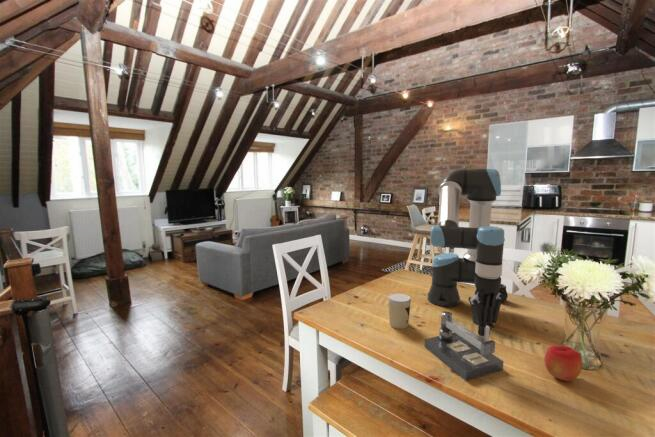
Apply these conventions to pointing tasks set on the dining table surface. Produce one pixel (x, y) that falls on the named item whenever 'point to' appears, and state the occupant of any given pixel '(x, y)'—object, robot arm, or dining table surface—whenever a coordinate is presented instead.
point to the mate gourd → (503, 292)
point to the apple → (563, 362)
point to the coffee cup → (399, 310)
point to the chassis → (462, 355)
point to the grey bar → (466, 334)
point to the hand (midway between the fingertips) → (483, 343)
